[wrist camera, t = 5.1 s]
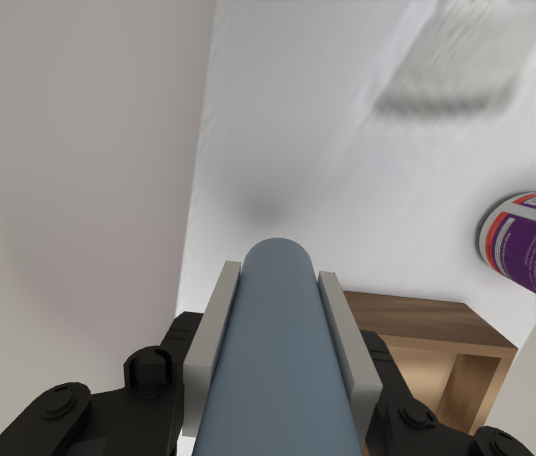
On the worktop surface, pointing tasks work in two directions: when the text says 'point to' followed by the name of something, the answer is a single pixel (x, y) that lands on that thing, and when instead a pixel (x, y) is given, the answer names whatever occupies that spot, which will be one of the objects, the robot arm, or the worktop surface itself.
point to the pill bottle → (512, 240)
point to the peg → (277, 367)
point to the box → (439, 354)
